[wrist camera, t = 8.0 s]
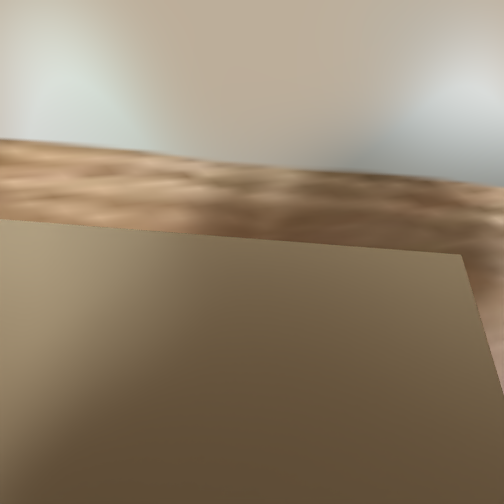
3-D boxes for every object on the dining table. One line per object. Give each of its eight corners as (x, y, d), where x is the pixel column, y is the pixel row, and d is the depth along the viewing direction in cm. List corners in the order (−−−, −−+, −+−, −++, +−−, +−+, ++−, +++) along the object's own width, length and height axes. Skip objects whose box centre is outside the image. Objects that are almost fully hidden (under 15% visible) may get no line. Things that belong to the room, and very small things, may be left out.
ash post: (276, 579, 12) (772, 1284, 1) (138, 575, 12) (-577, 1389, 1) (276, 430, 15) (461, 254, 4) (160, 425, 14) (-5, 219, 3)
